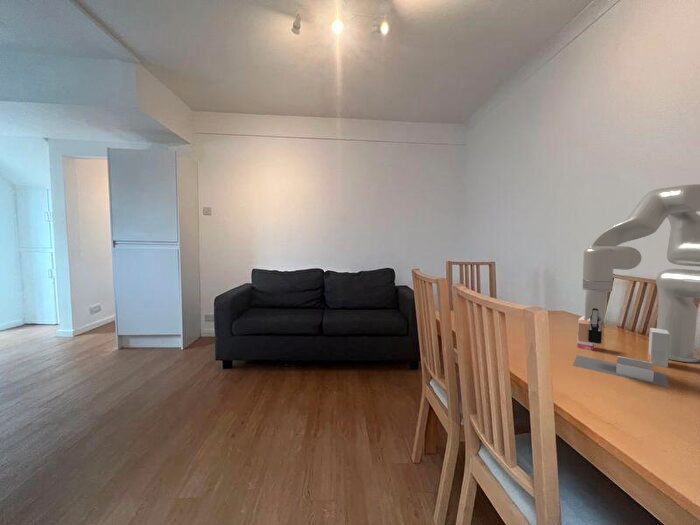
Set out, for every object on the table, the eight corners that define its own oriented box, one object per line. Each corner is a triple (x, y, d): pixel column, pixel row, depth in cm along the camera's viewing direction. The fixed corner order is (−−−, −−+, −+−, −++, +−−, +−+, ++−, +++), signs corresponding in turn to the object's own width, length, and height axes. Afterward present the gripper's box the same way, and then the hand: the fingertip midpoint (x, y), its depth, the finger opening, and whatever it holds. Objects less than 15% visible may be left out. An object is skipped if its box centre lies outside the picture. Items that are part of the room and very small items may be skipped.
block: (579, 336, 104) (580, 319, 103) (602, 339, 100) (603, 322, 99) (578, 340, 100) (578, 323, 99) (601, 344, 96) (602, 326, 95)
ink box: (592, 353, 111) (594, 322, 111) (576, 349, 115) (577, 319, 114) (596, 347, 117) (598, 318, 116) (580, 344, 121) (582, 315, 120)
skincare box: (647, 361, 104) (649, 327, 103) (664, 364, 101) (667, 329, 101) (649, 366, 99) (652, 331, 99) (668, 370, 97) (670, 334, 96)
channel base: (576, 357, 107) (577, 346, 107) (665, 376, 92) (666, 363, 92) (572, 368, 98) (573, 356, 98) (669, 390, 83) (670, 376, 83)
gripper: (585, 281, 106) (583, 331, 108) (579, 288, 94) (578, 344, 95) (613, 283, 101) (611, 335, 103) (611, 290, 89) (609, 350, 90)
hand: (595, 339), depth 99 cm, fingers closed on block, 5 cm apart
